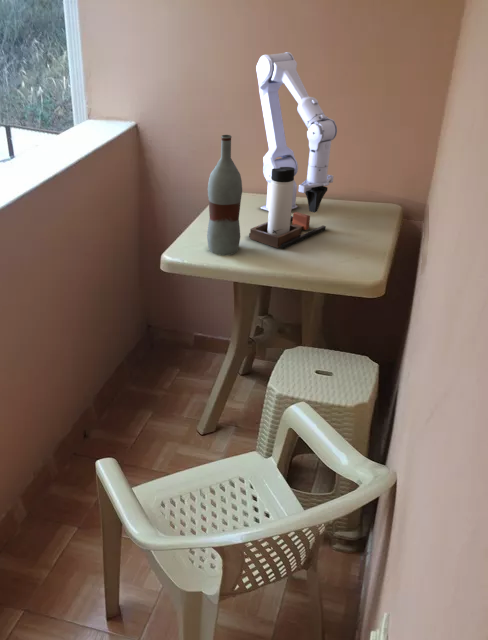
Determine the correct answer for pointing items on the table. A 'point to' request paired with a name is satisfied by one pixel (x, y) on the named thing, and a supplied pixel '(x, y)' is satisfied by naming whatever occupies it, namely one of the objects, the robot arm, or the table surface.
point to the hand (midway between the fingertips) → (313, 211)
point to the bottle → (224, 203)
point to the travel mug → (280, 200)
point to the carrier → (298, 224)
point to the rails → (301, 236)
